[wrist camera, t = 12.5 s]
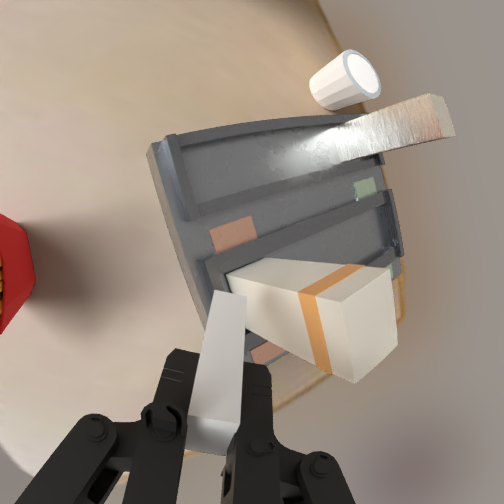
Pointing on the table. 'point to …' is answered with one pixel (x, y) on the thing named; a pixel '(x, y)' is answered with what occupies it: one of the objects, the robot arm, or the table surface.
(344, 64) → the white short cylinder
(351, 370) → the handle
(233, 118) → the table surface
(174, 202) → the breaker panel
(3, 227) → the french fries
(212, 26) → the table surface
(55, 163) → the table surface
